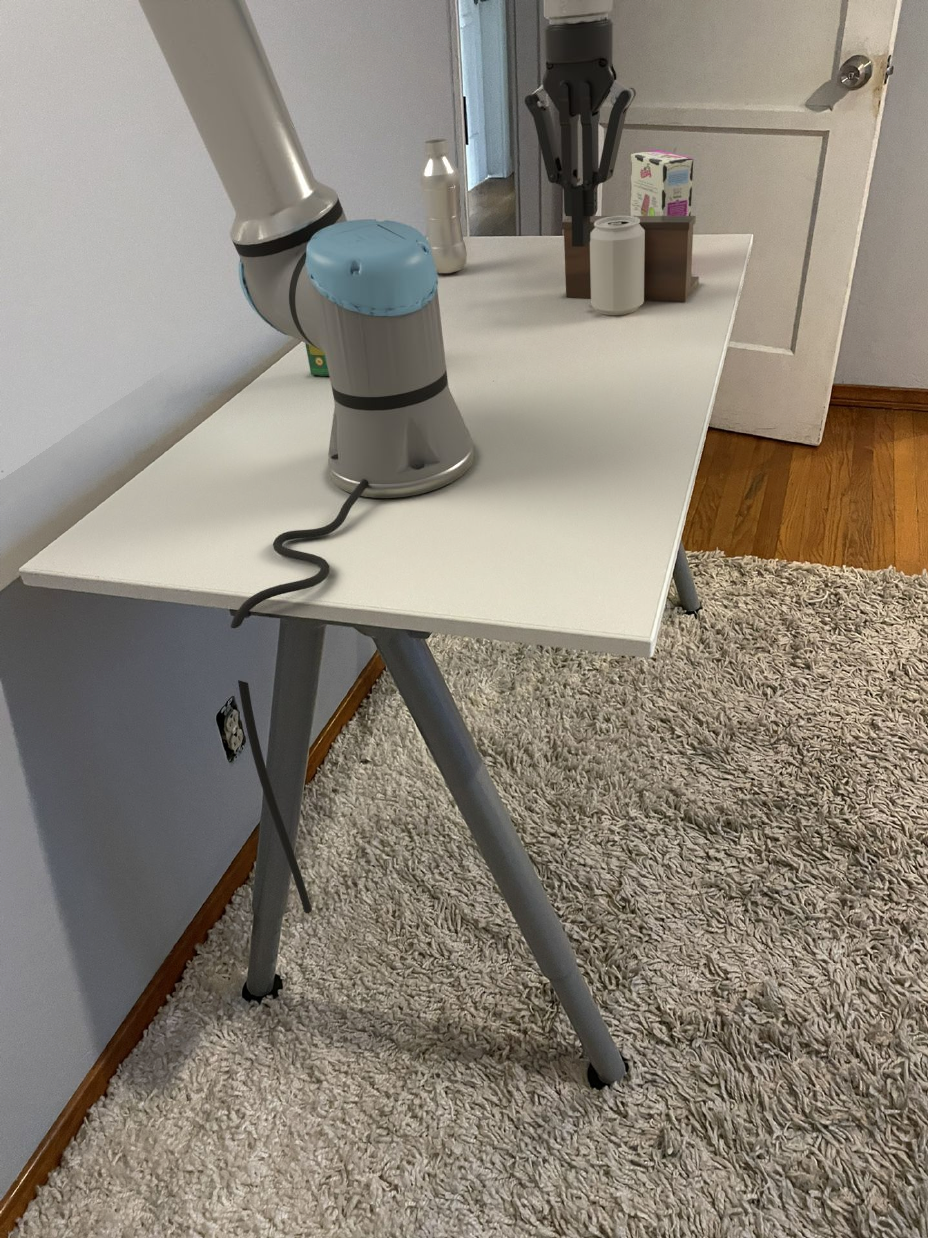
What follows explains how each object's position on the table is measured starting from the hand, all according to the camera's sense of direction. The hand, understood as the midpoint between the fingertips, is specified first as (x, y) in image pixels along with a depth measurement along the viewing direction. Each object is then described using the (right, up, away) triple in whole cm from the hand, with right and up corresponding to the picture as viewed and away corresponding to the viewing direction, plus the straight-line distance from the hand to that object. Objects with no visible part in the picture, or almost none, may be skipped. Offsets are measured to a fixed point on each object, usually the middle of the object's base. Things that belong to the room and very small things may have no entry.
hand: (581, 243), depth 114 cm
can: (+7, -3, +17) cm, 18 cm away
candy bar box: (+16, +8, +30) cm, 35 cm away
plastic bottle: (-17, +12, +41) cm, 46 cm away
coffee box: (-31, -15, +7) cm, 35 cm away
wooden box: (+10, +2, +22) cm, 25 cm away
